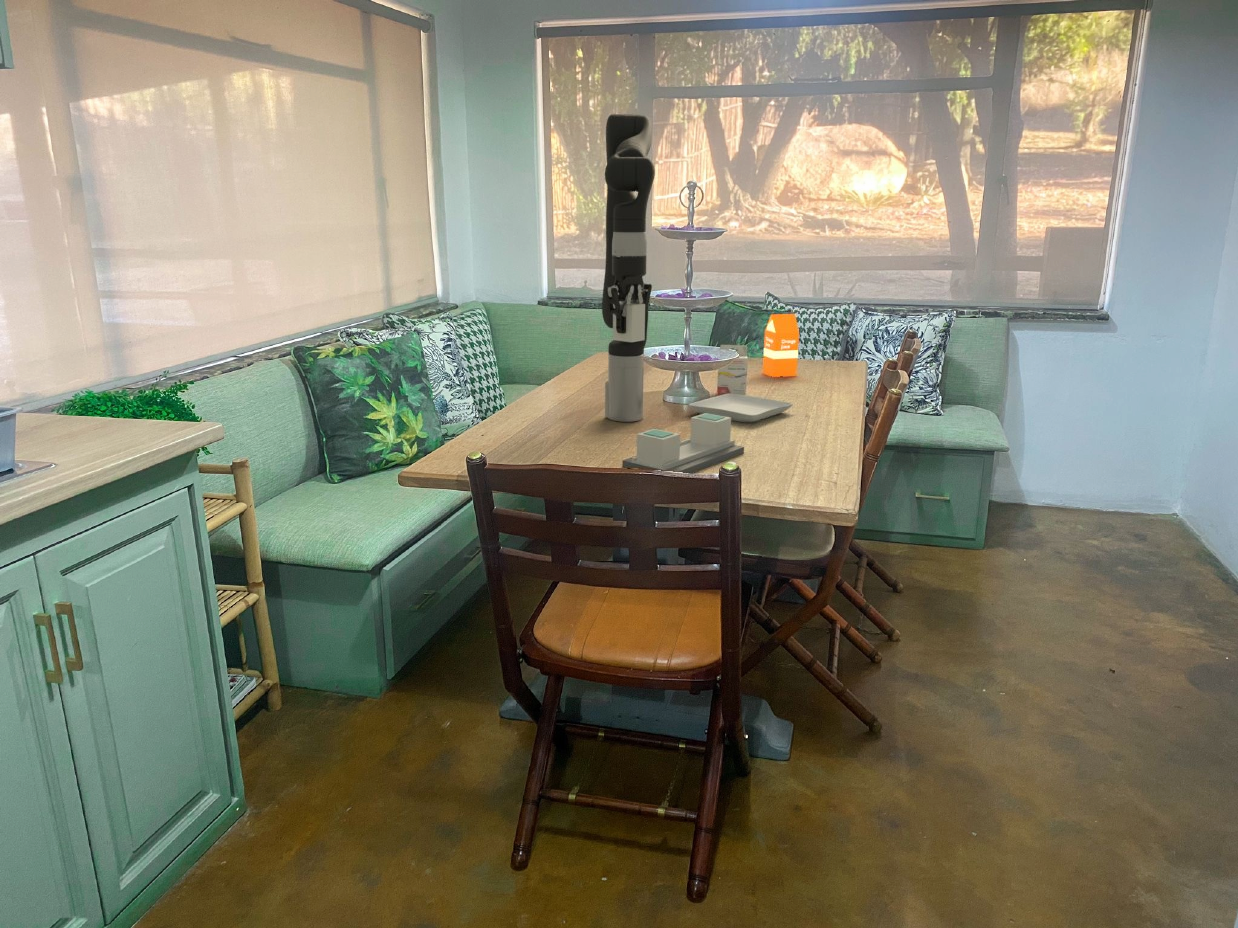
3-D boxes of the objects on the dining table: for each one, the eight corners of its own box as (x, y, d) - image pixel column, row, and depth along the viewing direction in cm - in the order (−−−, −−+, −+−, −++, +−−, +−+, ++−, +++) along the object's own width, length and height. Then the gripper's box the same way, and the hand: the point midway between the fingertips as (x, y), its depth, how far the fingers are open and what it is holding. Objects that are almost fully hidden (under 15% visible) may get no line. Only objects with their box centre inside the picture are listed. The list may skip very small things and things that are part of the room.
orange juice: (762, 373, 303) (765, 313, 297) (785, 371, 305) (789, 312, 300) (772, 377, 296) (776, 316, 290) (796, 375, 298) (800, 315, 292)
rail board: (622, 467, 195) (622, 430, 193) (693, 442, 215) (694, 409, 213) (674, 479, 186) (675, 442, 184) (743, 453, 206) (745, 418, 204)
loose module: (612, 339, 201) (612, 303, 199) (625, 337, 205) (625, 302, 202) (632, 342, 198) (632, 305, 196) (644, 340, 201) (645, 304, 199)
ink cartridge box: (717, 396, 266) (718, 347, 262) (716, 393, 271) (718, 344, 266) (746, 397, 265) (748, 347, 261) (745, 393, 270) (748, 345, 266)
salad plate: (728, 403, 259) (728, 391, 258) (793, 414, 246) (794, 402, 245) (685, 415, 243) (686, 403, 242) (753, 428, 230) (754, 415, 229)
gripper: (636, 251, 203) (635, 327, 208) (594, 254, 193) (594, 333, 198) (662, 253, 199) (661, 330, 204) (621, 255, 188) (621, 337, 193)
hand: (628, 331), depth 201 cm, fingers closed on loose module, 4 cm apart
